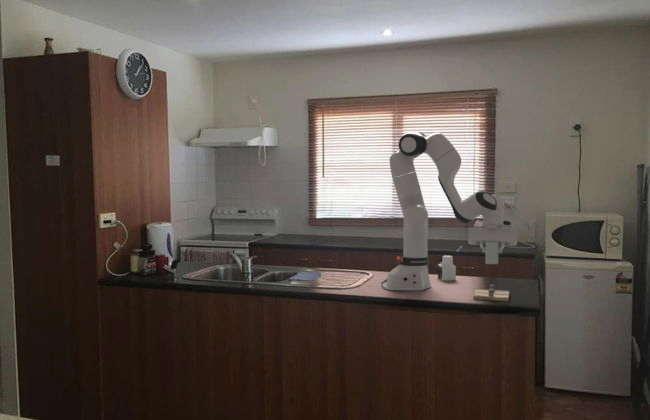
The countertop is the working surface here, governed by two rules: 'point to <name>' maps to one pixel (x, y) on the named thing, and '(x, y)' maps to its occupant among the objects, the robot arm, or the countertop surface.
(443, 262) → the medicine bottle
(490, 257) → the block
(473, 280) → the countertop surface
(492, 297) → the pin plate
